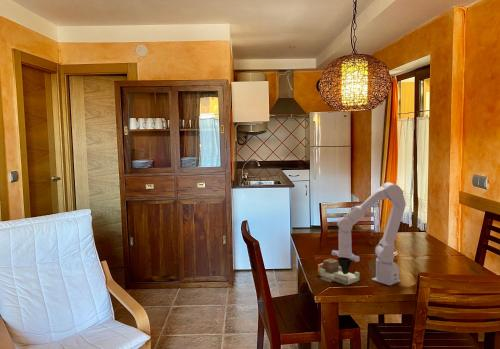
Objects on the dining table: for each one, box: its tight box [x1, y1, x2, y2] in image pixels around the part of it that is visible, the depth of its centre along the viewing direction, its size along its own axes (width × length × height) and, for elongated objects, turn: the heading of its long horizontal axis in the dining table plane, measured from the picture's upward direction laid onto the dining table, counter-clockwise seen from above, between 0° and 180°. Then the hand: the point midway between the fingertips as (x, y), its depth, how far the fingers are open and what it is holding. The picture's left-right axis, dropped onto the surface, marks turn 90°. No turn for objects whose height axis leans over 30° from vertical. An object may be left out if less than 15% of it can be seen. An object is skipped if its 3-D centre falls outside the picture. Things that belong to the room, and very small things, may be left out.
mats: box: [319, 276, 335, 283], centre depth 179 cm, size 11×15×1 cm
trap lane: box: [317, 262, 361, 286], centre depth 179 cm, size 17×9×5 cm, turn 36°
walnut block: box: [322, 258, 340, 274], centre depth 183 cm, size 5×5×5 cm
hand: (345, 273), depth 176 cm, fingers closed
